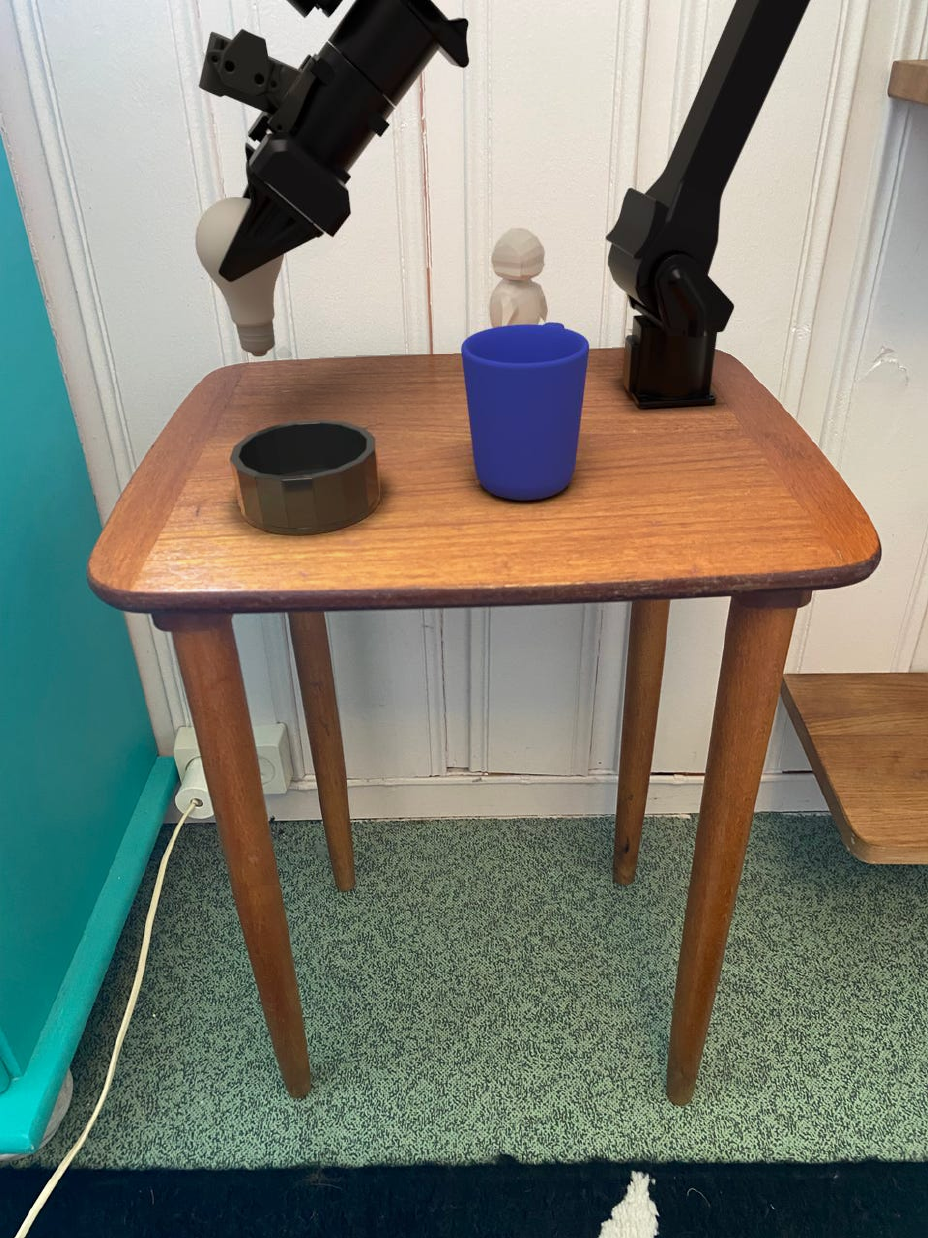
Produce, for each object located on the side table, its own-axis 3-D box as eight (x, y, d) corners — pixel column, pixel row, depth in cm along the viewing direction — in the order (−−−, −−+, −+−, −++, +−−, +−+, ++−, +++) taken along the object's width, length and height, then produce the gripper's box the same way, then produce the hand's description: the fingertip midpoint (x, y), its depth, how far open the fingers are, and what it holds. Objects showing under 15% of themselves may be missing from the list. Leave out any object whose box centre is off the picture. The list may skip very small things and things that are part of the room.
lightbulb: (288, 337, 72) (264, 185, 66) (310, 359, 67) (287, 198, 61) (211, 351, 70) (179, 196, 64) (229, 375, 65) (196, 210, 59)
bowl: (381, 467, 67) (376, 415, 65) (379, 530, 59) (373, 474, 57) (250, 475, 67) (241, 423, 65) (231, 539, 59) (220, 483, 57)
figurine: (514, 383, 80) (513, 239, 74) (470, 375, 83) (466, 234, 76) (559, 357, 86) (562, 220, 79) (517, 349, 88) (516, 216, 81)
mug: (605, 445, 69) (613, 311, 63) (567, 518, 60) (572, 369, 54) (502, 434, 71) (500, 304, 66) (450, 503, 62) (442, 358, 56)
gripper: (256, -23, 64) (134, 165, 68) (262, -31, 48) (104, 212, 53) (380, 98, 69) (258, 264, 74) (419, 125, 54) (263, 332, 59)
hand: (224, 266), depth 65 cm, fingers closed on lightbulb, 6 cm apart
